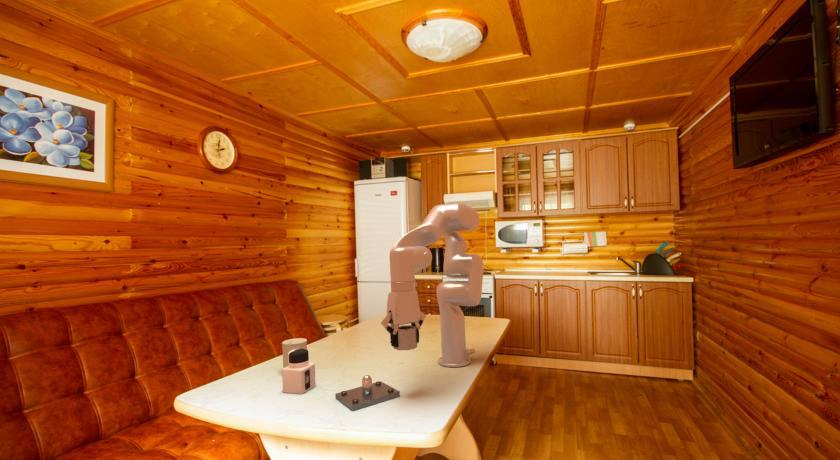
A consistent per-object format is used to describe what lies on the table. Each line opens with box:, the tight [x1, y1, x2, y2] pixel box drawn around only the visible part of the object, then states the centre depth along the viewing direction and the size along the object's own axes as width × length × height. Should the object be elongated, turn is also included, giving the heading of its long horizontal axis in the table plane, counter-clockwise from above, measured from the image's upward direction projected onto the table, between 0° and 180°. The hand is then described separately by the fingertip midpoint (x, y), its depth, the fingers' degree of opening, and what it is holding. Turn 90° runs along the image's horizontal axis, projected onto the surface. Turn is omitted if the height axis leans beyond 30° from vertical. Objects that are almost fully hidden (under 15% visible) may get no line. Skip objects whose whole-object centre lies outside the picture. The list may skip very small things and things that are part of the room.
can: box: [281, 337, 308, 369], centre depth 149 cm, size 9×9×12 cm
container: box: [281, 348, 317, 395], centre depth 130 cm, size 8×8×13 cm
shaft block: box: [334, 374, 401, 412], centre depth 120 cm, size 16×12×7 cm
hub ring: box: [393, 324, 418, 351], centre depth 121 cm, size 7×7×6 cm
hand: (405, 343), depth 121 cm, fingers closed on hub ring, 7 cm apart
